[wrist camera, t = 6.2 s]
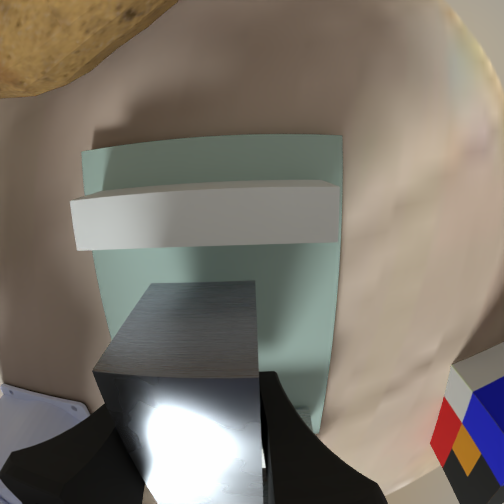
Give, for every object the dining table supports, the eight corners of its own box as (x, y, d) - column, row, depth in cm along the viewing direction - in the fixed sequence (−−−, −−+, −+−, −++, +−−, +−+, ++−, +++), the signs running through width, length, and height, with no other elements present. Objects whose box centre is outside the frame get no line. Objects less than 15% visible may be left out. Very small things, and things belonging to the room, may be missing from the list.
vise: (145, 422, 19) (132, 464, 15) (90, 151, 14) (46, 153, 10) (316, 422, 19) (326, 466, 15) (336, 136, 14) (366, 131, 10)
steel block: (182, 424, 14) (163, 512, 9) (151, 282, 12) (92, 370, 6) (260, 425, 14) (263, 517, 9) (255, 280, 12) (258, 377, 6)
